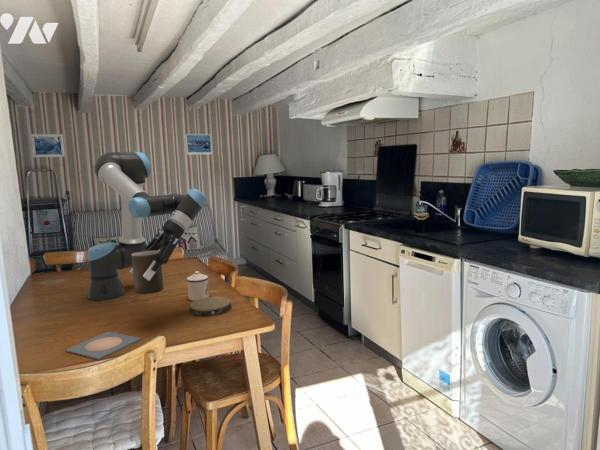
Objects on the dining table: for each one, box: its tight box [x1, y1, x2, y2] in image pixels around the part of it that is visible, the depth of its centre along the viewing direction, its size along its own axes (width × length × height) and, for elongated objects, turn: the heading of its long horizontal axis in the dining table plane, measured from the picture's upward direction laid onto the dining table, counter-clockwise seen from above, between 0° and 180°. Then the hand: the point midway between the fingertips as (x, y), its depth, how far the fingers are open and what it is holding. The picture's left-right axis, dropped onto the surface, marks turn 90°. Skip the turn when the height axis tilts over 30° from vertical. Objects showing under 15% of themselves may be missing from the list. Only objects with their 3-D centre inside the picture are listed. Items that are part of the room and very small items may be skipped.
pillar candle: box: [132, 249, 164, 295], centre depth 152 cm, size 10×10×15 cm
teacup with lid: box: [186, 270, 210, 302], centre depth 186 cm, size 12×9×12 cm
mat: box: [64, 331, 142, 361], centre depth 139 cm, size 16×16×1 cm
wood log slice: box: [189, 296, 232, 317], centre depth 169 cm, size 16×16×3 cm
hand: (139, 276), depth 150 cm, fingers closed on pillar candle, 9 cm apart
